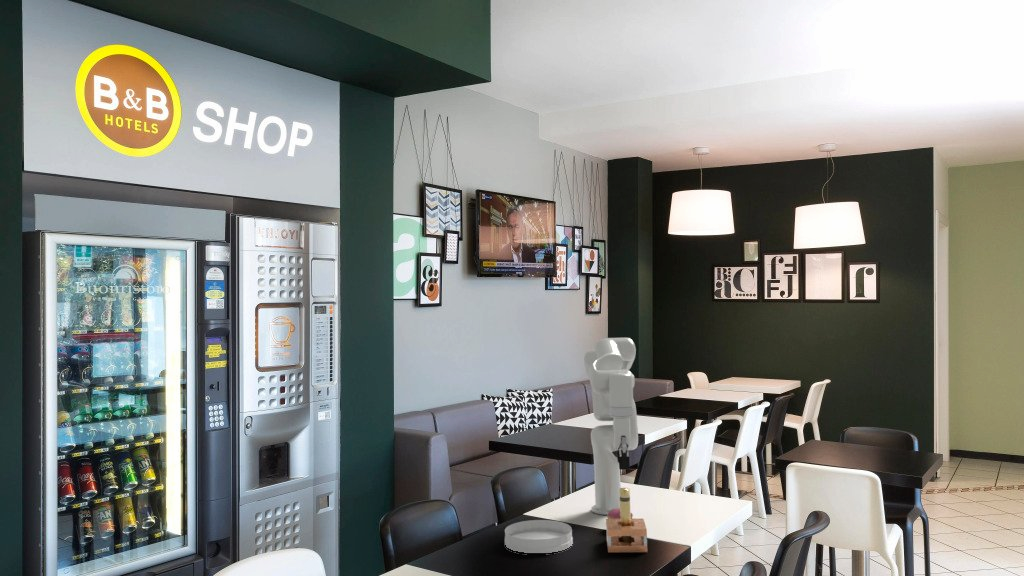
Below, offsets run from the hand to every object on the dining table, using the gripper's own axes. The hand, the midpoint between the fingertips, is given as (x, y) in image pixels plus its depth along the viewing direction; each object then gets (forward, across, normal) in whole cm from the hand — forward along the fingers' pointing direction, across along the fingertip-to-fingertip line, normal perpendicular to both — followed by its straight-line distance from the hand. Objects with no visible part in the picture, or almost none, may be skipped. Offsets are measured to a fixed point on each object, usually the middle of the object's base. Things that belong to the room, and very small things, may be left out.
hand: (623, 465), depth 243 cm
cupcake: (+26, -17, -1) cm, 31 cm away
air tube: (+25, +1, 0) cm, 25 cm away
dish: (+26, -2, -28) cm, 38 cm away
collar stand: (+25, +1, 0) cm, 25 cm away
